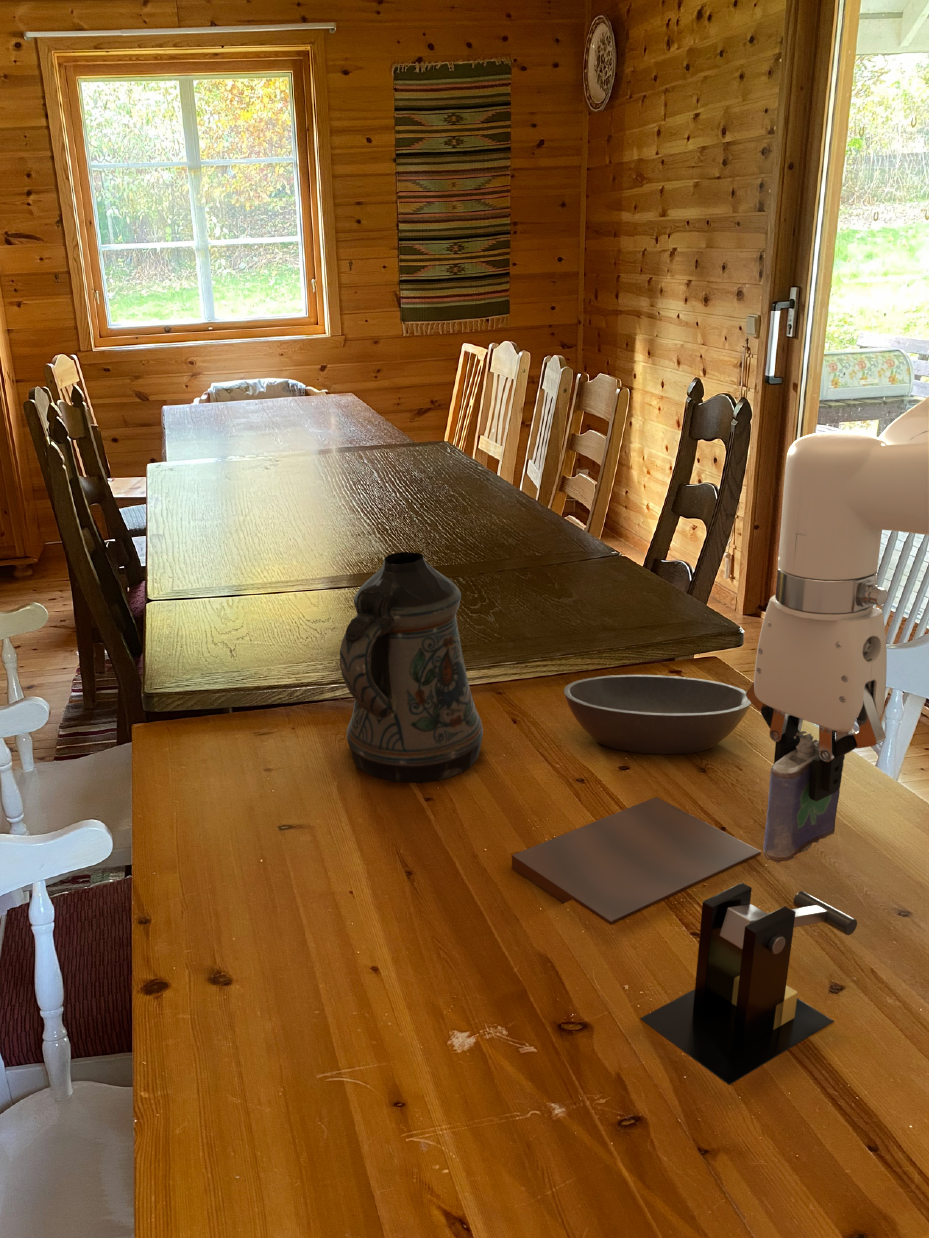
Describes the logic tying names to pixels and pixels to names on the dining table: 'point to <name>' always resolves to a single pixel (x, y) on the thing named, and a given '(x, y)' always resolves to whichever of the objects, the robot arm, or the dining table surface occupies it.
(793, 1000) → the butter
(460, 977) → the dining table surface
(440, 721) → the beer stein
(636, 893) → the cutting board
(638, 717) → the bowl
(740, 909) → the lever
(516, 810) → the dining table surface
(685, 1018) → the dark brown stand
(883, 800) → the dining table surface
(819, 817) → the flask
